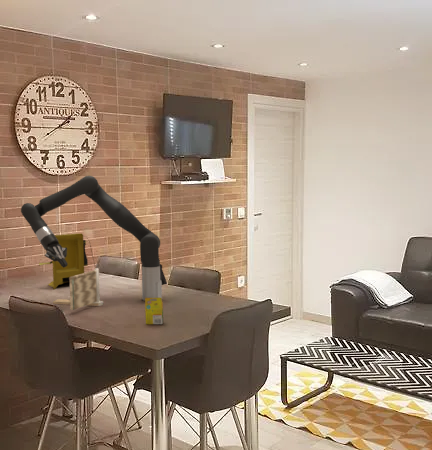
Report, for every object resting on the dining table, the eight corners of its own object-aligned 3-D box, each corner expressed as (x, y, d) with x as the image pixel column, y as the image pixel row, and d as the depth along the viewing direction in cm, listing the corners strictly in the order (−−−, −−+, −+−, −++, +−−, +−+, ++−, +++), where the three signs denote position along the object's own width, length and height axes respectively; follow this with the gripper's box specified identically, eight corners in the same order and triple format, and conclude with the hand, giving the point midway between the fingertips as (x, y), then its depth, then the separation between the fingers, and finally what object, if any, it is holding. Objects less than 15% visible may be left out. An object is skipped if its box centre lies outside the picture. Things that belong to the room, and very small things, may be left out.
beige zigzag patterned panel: (94, 301, 289) (93, 270, 288) (97, 301, 289) (96, 270, 287) (70, 309, 273) (69, 276, 271) (73, 310, 272) (71, 277, 271)
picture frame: (103, 303, 293) (102, 267, 291) (99, 306, 288) (98, 269, 286) (58, 301, 299) (56, 266, 297) (53, 303, 294) (51, 267, 292)
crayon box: (163, 322, 257) (163, 296, 256) (162, 324, 254) (162, 297, 253) (146, 322, 257) (145, 296, 256) (145, 324, 254) (144, 297, 253)
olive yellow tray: (88, 280, 354) (86, 230, 351) (97, 284, 343) (96, 232, 340) (36, 286, 336) (34, 234, 333) (44, 290, 325) (42, 236, 322)
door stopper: (153, 286, 335) (152, 265, 334) (148, 284, 340) (147, 263, 339) (167, 284, 340) (166, 263, 339) (162, 282, 345) (161, 262, 344)
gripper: (39, 235, 279) (58, 264, 275) (61, 231, 290) (79, 258, 286) (32, 245, 283) (51, 273, 279) (54, 240, 294) (72, 268, 290)
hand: (65, 266), depth 282 cm, fingers closed
